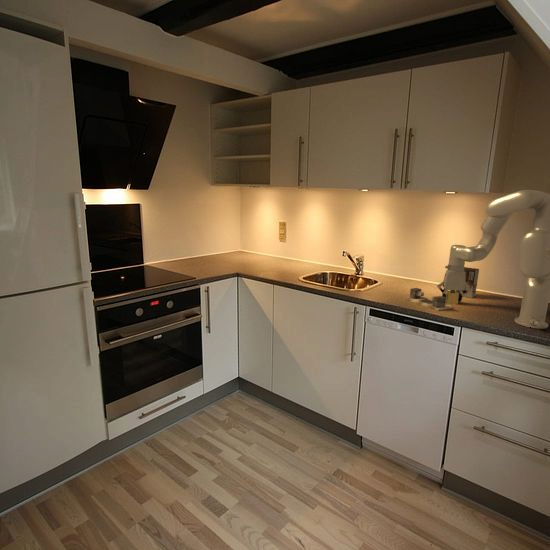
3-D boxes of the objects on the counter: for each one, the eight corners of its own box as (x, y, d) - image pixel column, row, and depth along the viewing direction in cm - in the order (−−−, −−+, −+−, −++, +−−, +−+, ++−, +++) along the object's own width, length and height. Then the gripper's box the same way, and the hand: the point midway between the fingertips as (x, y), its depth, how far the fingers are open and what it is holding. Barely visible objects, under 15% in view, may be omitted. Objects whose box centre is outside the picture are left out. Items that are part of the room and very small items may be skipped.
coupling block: (457, 304, 194) (459, 292, 192) (447, 303, 195) (449, 291, 193) (454, 301, 198) (456, 289, 197) (445, 301, 199) (446, 288, 198)
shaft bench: (452, 307, 187) (453, 296, 185) (437, 310, 182) (439, 299, 180) (418, 297, 205) (420, 287, 203) (404, 299, 200) (406, 289, 198)
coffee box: (475, 296, 210) (479, 268, 207) (471, 298, 206) (476, 270, 203) (459, 293, 217) (462, 266, 213) (455, 294, 212) (458, 267, 209)
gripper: (439, 268, 190) (435, 301, 194) (476, 271, 187) (471, 304, 191) (436, 266, 198) (432, 298, 202) (471, 268, 194) (466, 300, 198)
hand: (451, 300), depth 196 cm, fingers open, 6 cm apart
